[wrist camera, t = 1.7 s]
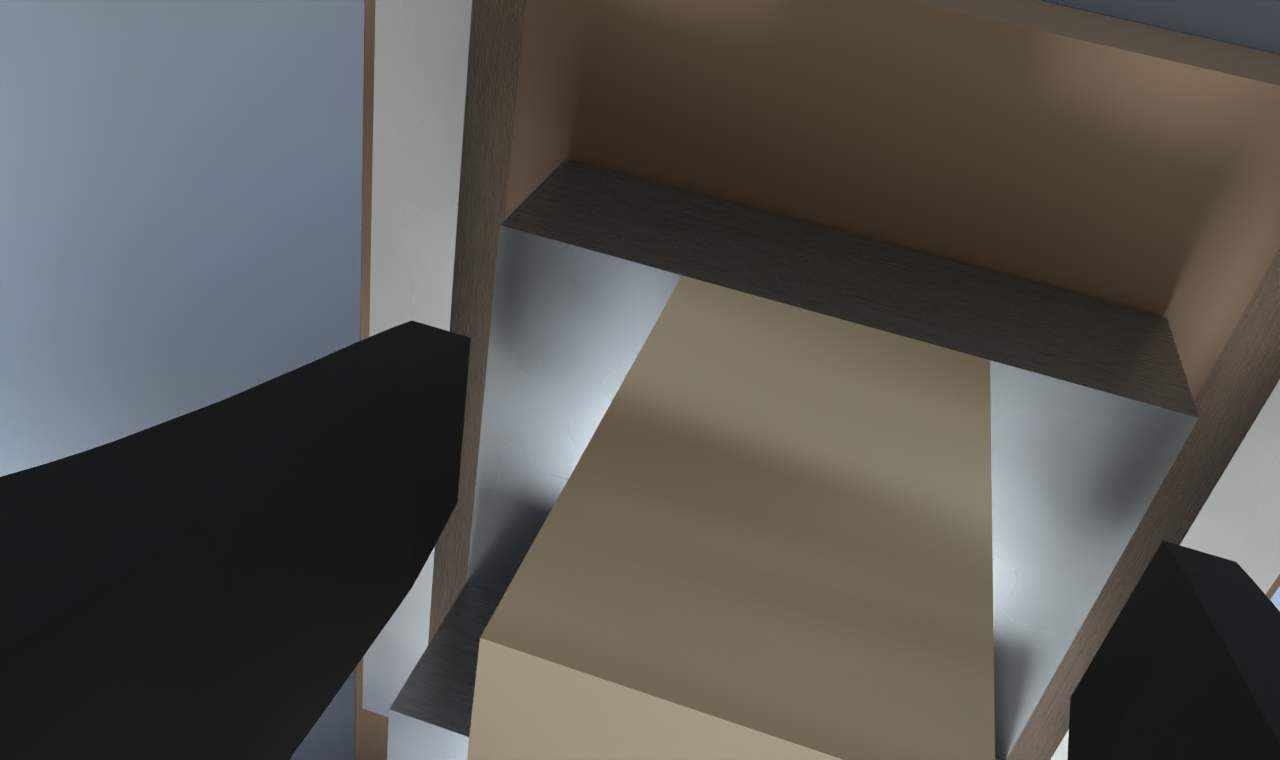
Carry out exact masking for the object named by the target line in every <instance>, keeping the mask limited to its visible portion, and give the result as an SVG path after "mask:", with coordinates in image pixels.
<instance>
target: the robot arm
mask: <svg viewBox="0 0 1280 760" xmlns="http://www.w3.org/2000/svg"><path fill="white" fill-rule="evenodd" d="M470 343H471V338H470V337H467V336H463V335H460V334H457V333H453V332H450V331H446V330H443V329H440V328H436V327H433V326H429V325H426V324H422V323H419V322H416V321H412V320H411V321H409V322H406V323H403V324H400V325H398V326H395V327H392V328H390V329H388V330H385V331H383V332H380V333H378V334H376V335H373V336H371V337H368V338H366V339H364V340H362V341H359V342H357V343H355V344H352V345H350V346H348V347H346V348H343V349H341V350H339V351H336V352H334V353H332V354H330V355H327V356H325V357H323V358H321V359H318V360H316V361H314V362H312V363H309V364H307V365H305V366H302V367H300V368H298V369H295V370H293V371H291V372H288V373H286V374H284V375H281V376H279V377H277V378H274V379H272V380H270V381H267V382H265V383H263V384H260V385H258V386H256V387H253V388H251V389H249V390H246V391H244V392H241V393H239V394H237V395H234V396H232V397H230V398H227V399H225V400H222V401H220V402H217V403H215V404H212V405H209V406H207V407H204V408H201V409H199V410H196V411H193V412H191V413H188V414H185V415H183V416H180V417H177V418H175V419H172V420H170V421H167V422H164V423H162V424H159V425H156V426H154V427H151V428H148V429H146V430H143V431H140V432H138V433H135V434H133V435H130V436H127V437H125V438H122V439H119V440H117V441H114V442H111V443H108V444H105V445H102V446H99V447H96V448H93V449H91V450H88V451H85V452H82V453H78V454H75V455H72V456H69V457H66V458H63V459H60V460H57V461H53V462H50V463H47V464H44V465H40V466H37V467H34V468H30V469H27V470H23V471H20V472H16V473H13V474H9V475H6V476H3V477H0V760H289V759H290V758H291V756H292V755H293V753H294V752H295V751H296V749H297V748H298V747H299V745H300V744H301V742H302V741H303V740H304V738H305V737H306V735H307V734H308V733H309V731H310V730H311V728H312V727H313V726H314V724H315V723H316V722H317V720H318V719H319V717H320V716H321V715H322V713H323V712H324V710H325V709H326V708H327V706H328V705H329V703H330V702H331V701H332V699H333V698H334V697H335V695H336V694H337V692H338V691H339V690H340V688H341V687H342V685H343V684H344V683H345V681H346V680H347V678H348V677H349V676H350V674H351V673H352V672H353V670H354V669H355V667H356V666H357V665H358V663H359V662H360V660H361V659H362V658H363V656H364V655H365V654H366V652H367V651H368V649H369V648H370V647H371V645H372V644H373V642H374V641H375V639H376V638H377V637H378V635H379V634H380V632H381V631H382V630H383V628H384V627H385V625H386V624H387V623H388V621H389V620H390V618H391V617H392V615H393V614H394V613H395V611H396V610H397V608H398V607H399V606H400V604H401V603H402V601H403V600H404V598H405V597H406V595H407V594H408V593H409V591H410V590H411V588H412V587H413V585H414V583H415V581H416V580H417V578H418V576H419V574H420V572H421V570H422V569H423V567H424V565H425V563H426V561H427V560H428V558H429V556H430V554H431V552H432V550H433V549H434V547H435V545H436V543H437V541H438V539H439V537H440V535H441V533H442V531H443V529H444V527H445V525H446V524H447V522H448V520H449V518H450V516H451V514H452V512H453V510H454V508H455V506H456V504H457V501H458V489H459V477H460V464H461V452H462V440H463V428H464V416H465V404H466V391H467V379H468V367H469V355H470ZM1067 760H1280V612H1279V610H1278V609H1277V608H1276V607H1275V606H1274V604H1273V603H1272V602H1271V601H1270V600H1269V598H1268V597H1267V596H1266V595H1265V594H1264V592H1263V591H1262V590H1261V589H1260V588H1259V587H1258V585H1257V584H1256V583H1255V582H1254V581H1253V580H1252V578H1251V577H1250V576H1249V575H1248V574H1247V573H1246V572H1245V571H1244V570H1243V569H1242V567H1241V566H1240V565H1239V564H1238V563H1237V562H1235V561H1231V560H1228V559H1225V558H1221V557H1218V556H1214V555H1211V554H1208V553H1204V552H1201V551H1197V550H1194V549H1191V548H1187V547H1184V546H1180V545H1177V544H1173V543H1170V542H1167V541H1162V543H1161V544H1160V546H1159V548H1158V549H1157V551H1156V553H1155V554H1154V556H1153V558H1152V559H1151V561H1150V563H1149V565H1148V566H1147V568H1146V570H1145V571H1144V573H1143V575H1142V576H1141V578H1140V580H1139V582H1138V583H1137V585H1136V587H1135V588H1134V590H1133V592H1132V593H1131V595H1130V597H1129V599H1128V600H1127V602H1126V604H1125V605H1124V607H1123V609H1122V610H1121V612H1120V614H1119V616H1118V617H1117V619H1116V621H1115V622H1114V624H1113V626H1112V627H1111V629H1110V631H1109V633H1108V634H1107V636H1106V638H1105V639H1104V641H1103V643H1102V644H1101V646H1100V648H1099V650H1098V651H1097V653H1096V655H1095V656H1094V658H1093V660H1092V661H1091V663H1090V665H1089V667H1088V668H1087V670H1086V672H1085V673H1084V675H1083V677H1082V678H1081V680H1080V682H1079V684H1078V685H1077V687H1076V689H1075V690H1074V692H1073V694H1072V695H1071V698H1070V718H1069V737H1068V759H1067Z"/></svg>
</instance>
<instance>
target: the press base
mask: <svg viewBox="0 0 1280 760" xmlns="http://www.w3.org/2000/svg"><path fill="white" fill-rule="evenodd" d="M565 159H567V160H571V161H575V162H579V163H583V164H586V165H590V166H594V167H598V168H602V169H605V170H609V171H613V172H617V173H621V174H624V175H628V176H632V177H636V178H640V179H643V180H647V181H651V182H655V183H658V184H662V185H666V186H670V187H674V188H677V189H681V190H685V191H689V192H693V193H696V194H700V195H704V196H708V197H712V198H715V199H719V200H723V201H727V202H730V203H734V204H738V205H742V206H746V207H749V208H753V209H757V210H761V211H765V212H768V213H772V214H776V215H780V216H784V217H787V218H791V219H795V220H799V221H803V222H806V223H810V224H814V225H818V226H821V227H825V228H829V229H833V230H837V231H840V232H844V233H848V234H852V235H856V236H859V237H863V238H867V239H871V240H875V241H878V242H882V243H886V244H890V245H894V246H897V247H901V248H905V249H909V250H912V251H916V252H920V253H924V254H928V255H931V256H935V257H939V258H943V259H947V260H950V261H954V262H958V263H962V264H966V265H969V266H973V267H977V268H981V269H985V270H988V271H992V272H996V273H1000V274H1003V275H1007V276H1011V277H1015V278H1019V279H1022V280H1026V281H1030V282H1034V283H1038V284H1041V285H1045V286H1049V287H1053V288H1057V289H1060V290H1064V291H1068V292H1072V293H1076V294H1079V295H1083V296H1087V297H1091V298H1094V299H1098V300H1102V301H1106V302H1110V303H1113V304H1117V305H1121V306H1125V307H1129V308H1132V309H1136V310H1140V311H1144V312H1148V313H1151V314H1155V315H1159V316H1163V317H1167V319H1168V322H1169V325H1170V328H1171V331H1172V334H1173V338H1174V341H1175V344H1176V347H1177V350H1178V353H1179V356H1180V359H1181V363H1182V366H1183V369H1184V372H1185V375H1186V378H1187V381H1188V385H1189V388H1190V391H1191V394H1192V397H1193V400H1194V403H1195V407H1196V410H1197V413H1198V416H1199V419H1198V421H1197V422H1196V424H1195V426H1194V428H1193V430H1192V431H1191V433H1190V435H1189V437H1188V438H1187V440H1186V442H1185V444H1184V445H1183V447H1182V449H1181V451H1180V453H1179V454H1178V456H1177V458H1176V460H1175V461H1174V463H1173V465H1172V467H1171V468H1170V470H1169V472H1168V474H1167V476H1166V477H1165V479H1164V481H1163V483H1162V484H1161V486H1160V488H1159V490H1158V491H1157V493H1156V495H1155V497H1154V499H1153V500H1152V502H1151V504H1150V506H1149V507H1148V509H1147V511H1146V513H1145V514H1144V516H1143V518H1142V520H1141V522H1140V523H1139V525H1138V527H1137V529H1136V530H1135V532H1134V534H1133V536H1132V537H1131V539H1130V541H1129V543H1128V545H1127V546H1126V548H1125V550H1124V552H1123V553H1122V555H1121V557H1120V559H1119V560H1118V562H1117V564H1116V566H1115V568H1114V569H1113V571H1112V573H1111V575H1110V576H1109V578H1108V580H1107V582H1106V583H1105V585H1104V587H1103V589H1102V591H1101V592H1100V594H1099V596H1098V598H1097V599H1096V601H1095V603H1094V605H1093V606H1092V608H1091V610H1090V612H1089V614H1088V615H1087V617H1086V619H1085V621H1084V622H1083V624H1082V626H1081V628H1080V629H1079V631H1078V633H1077V635H1076V637H1075V638H1074V640H1073V642H1072V644H1071V645H1070V647H1069V649H1068V651H1067V652H1066V654H1065V656H1064V658H1063V660H1062V661H1061V663H1060V665H1059V667H1058V668H1057V670H1056V672H1055V674H1054V675H1053V677H1052V679H1051V681H1050V683H1049V684H1048V686H1047V688H1046V690H1045V691H1044V693H1043V695H1042V697H1041V698H1040V700H1039V702H1038V704H1037V706H1036V707H1035V709H1034V711H1033V713H1032V714H1031V716H1030V718H1029V720H1028V721H1027V723H1026V725H1025V727H1024V729H1023V730H1022V732H1021V734H1020V736H1019V737H1018V739H1017V741H1016V743H1015V744H1014V746H1013V748H1012V750H1011V752H1010V753H1009V755H1008V757H1007V759H1006V760H1067V759H1068V737H1069V718H1070V698H1071V695H1072V694H1073V692H1074V690H1075V689H1076V687H1077V685H1078V684H1079V682H1080V680H1081V678H1082V677H1083V675H1084V673H1085V672H1086V670H1087V668H1088V667H1089V665H1090V663H1091V661H1092V660H1093V658H1094V656H1095V655H1096V653H1097V651H1098V650H1099V648H1100V646H1101V644H1102V643H1103V641H1104V639H1105V638H1106V636H1107V634H1108V633H1109V631H1110V629H1111V627H1112V626H1113V624H1114V622H1115V621H1116V619H1117V617H1118V616H1119V614H1120V612H1121V610H1122V609H1123V607H1124V605H1125V604H1126V602H1127V600H1128V599H1129V597H1130V595H1131V593H1132V592H1133V590H1134V588H1135V587H1136V585H1137V583H1138V582H1139V580H1140V578H1141V576H1142V575H1143V573H1144V571H1145V570H1146V568H1147V566H1148V565H1149V563H1150V561H1151V559H1152V558H1153V556H1154V554H1155V553H1156V551H1157V549H1158V548H1159V546H1160V544H1161V543H1162V541H1167V542H1170V543H1173V544H1177V545H1180V546H1184V547H1187V548H1191V549H1194V550H1197V551H1201V552H1204V553H1208V554H1211V555H1214V556H1218V557H1221V558H1225V559H1228V560H1231V561H1235V562H1237V563H1238V564H1239V565H1240V566H1241V567H1242V569H1243V570H1244V571H1245V572H1246V573H1247V574H1248V575H1249V576H1250V577H1251V578H1252V580H1253V581H1254V582H1255V583H1256V584H1257V585H1258V587H1259V588H1260V589H1261V590H1262V591H1263V592H1264V594H1265V595H1266V596H1267V597H1268V598H1269V600H1270V599H1271V597H1272V596H1273V595H1274V593H1275V592H1276V590H1277V589H1278V587H1279V586H1280V55H1279V54H1275V53H1270V52H1266V51H1262V50H1257V49H1253V48H1248V47H1244V46H1239V45H1235V44H1231V43H1226V42H1222V41H1217V40H1213V39H1209V38H1204V37H1200V36H1195V35H1191V34H1186V33H1182V32H1178V31H1173V30H1169V29H1164V28H1160V27H1155V26H1151V25H1147V24H1142V23H1138V22H1133V21H1129V20H1125V19H1120V18H1116V17H1111V16H1107V15H1102V14H1098V13H1094V12H1089V11H1085V10H1080V9H1076V8H1071V7H1067V6H1063V5H1058V4H1054V3H1049V2H1045V1H1040V0H365V26H364V102H363V179H362V255H361V332H360V341H362V340H364V339H366V338H368V337H371V336H373V335H376V334H378V333H380V332H383V331H385V330H388V329H390V328H392V327H395V326H398V325H400V324H403V323H406V322H409V321H411V320H412V321H416V322H419V323H422V324H426V325H429V326H433V327H436V328H440V329H443V330H446V331H450V332H453V333H457V334H460V335H463V336H467V337H470V338H471V343H470V355H469V367H468V379H467V391H466V404H465V416H464V428H463V440H462V452H461V464H460V477H459V489H458V501H457V504H456V506H455V508H454V510H453V512H452V514H451V516H450V518H449V520H448V522H447V524H446V525H445V527H444V529H443V531H442V533H441V535H440V537H439V539H438V541H437V543H436V545H435V547H434V549H433V550H432V552H431V554H430V556H429V558H428V560H427V561H426V563H425V565H424V567H423V569H422V570H421V572H420V574H419V576H418V578H417V580H416V581H415V583H414V585H413V587H412V588H411V590H410V591H409V593H408V594H407V595H406V597H405V598H404V600H403V601H402V603H401V604H400V606H399V607H398V608H397V610H396V611H395V613H394V614H393V615H392V617H391V618H390V620H389V621H388V623H387V624H386V625H385V627H384V628H383V630H382V631H381V632H380V634H379V635H378V637H377V638H376V639H375V641H374V642H373V644H372V645H371V647H370V648H369V649H368V651H367V652H366V654H365V655H364V656H363V658H362V659H361V660H360V662H359V663H358V665H357V666H356V714H355V760H387V749H388V724H389V709H390V707H391V705H392V704H393V702H394V700H395V699H396V697H397V695H398V694H399V692H400V691H401V689H402V687H403V686H404V684H405V682H406V681H407V679H408V677H409V676H410V674H411V673H412V671H413V669H414V668H415V666H416V664H417V663H418V661H419V659H420V658H421V656H422V655H423V653H424V651H425V650H426V648H427V646H428V645H429V643H430V641H431V640H432V638H433V636H434V635H435V633H436V632H437V630H438V628H439V627H440V625H441V623H442V622H443V620H444V618H445V617H446V615H447V614H448V612H449V610H450V609H451V607H452V605H453V604H454V602H455V600H456V599H457V597H458V596H459V594H460V592H461V591H462V589H463V587H464V586H465V584H466V582H467V571H468V561H469V550H470V539H471V529H472V518H473V507H474V497H475V486H476V475H477V464H478V454H479V443H480V432H481V422H482V411H483V400H484V390H485V379H486V368H487V358H488V347H489V336H490V326H491V315H492V304H493V294H494V283H495V272H496V262H497V251H498V240H499V229H500V225H501V223H502V222H503V221H504V220H505V219H506V218H507V217H508V216H509V215H510V214H511V213H512V212H513V211H514V210H515V209H516V208H517V207H518V206H519V205H520V204H521V203H522V202H523V201H524V200H525V199H526V198H527V197H528V196H529V195H530V194H531V193H532V192H533V191H534V190H535V189H536V188H537V187H538V186H539V185H540V184H541V183H542V182H543V181H544V180H545V179H546V178H547V177H548V176H549V175H550V174H551V173H552V172H553V171H554V170H555V169H556V168H557V167H558V166H559V165H560V164H561V163H562V162H563V161H564V160H565Z"/></svg>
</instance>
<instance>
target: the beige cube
mask: <svg viewBox="0 0 1280 760" xmlns="http://www.w3.org/2000/svg"><path fill="white" fill-rule="evenodd" d="M1198 419H1199V416H1198V413H1197V410H1196V407H1195V403H1194V400H1193V397H1192V394H1191V391H1190V388H1189V385H1188V381H1187V378H1186V375H1185V372H1184V369H1183V366H1182V363H1181V359H1180V356H1179V353H1178V350H1177V347H1176V344H1175V341H1174V338H1173V334H1172V331H1171V328H1170V325H1169V322H1168V319H1167V317H1163V316H1159V315H1155V314H1151V313H1148V312H1144V311H1140V310H1136V309H1132V308H1129V307H1125V306H1121V305H1117V304H1113V303H1110V302H1106V301H1102V300H1098V299H1094V298H1091V297H1087V296H1083V295H1079V294H1076V293H1072V292H1068V291H1064V290H1060V289H1057V288H1053V287H1049V286H1045V285H1041V284H1038V283H1034V282H1030V281H1026V280H1022V279H1019V278H1015V277H1011V276H1007V275H1003V274H1000V273H996V272H992V271H988V270H985V269H981V268H977V267H973V266H969V265H966V264H962V263H958V262H954V261H950V260H947V259H943V258H939V257H935V256H931V255H928V254H924V253H920V252H916V251H912V250H909V249H905V248H901V247H897V246H894V245H890V244H886V243H882V242H878V241H875V240H871V239H867V238H863V237H859V236H856V235H852V234H848V233H844V232H840V231H837V230H833V229H829V228H825V227H821V226H818V225H814V224H810V223H806V222H803V221H799V220H795V219H791V218H787V217H784V216H780V215H776V214H772V213H768V212H765V211H761V210H757V209H753V208H749V207H746V206H742V205H738V204H734V203H730V202H727V201H723V200H719V199H715V198H712V197H708V196H704V195H700V194H696V193H693V192H689V191H685V190H681V189H677V188H674V187H670V186H666V185H662V184H658V183H655V182H651V181H647V180H643V179H640V178H636V177H632V176H628V175H624V174H621V173H617V172H613V171H609V170H605V169H602V168H598V167H594V166H590V165H586V164H583V163H579V162H575V161H571V160H567V159H565V160H564V161H563V162H562V163H561V164H560V165H559V166H558V167H557V168H556V169H555V170H554V171H553V172H552V173H551V174H550V175H549V176H548V177H547V178H546V179H545V180H544V181H543V182H542V183H541V184H540V185H539V186H538V187H537V188H536V189H535V190H534V191H533V192H532V193H531V194H530V195H529V196H528V197H527V198H526V199H525V200H524V201H523V202H522V203H521V204H520V205H519V206H518V207H517V208H516V209H515V210H514V211H513V212H512V213H511V214H510V215H509V216H508V217H507V218H506V219H505V220H504V221H503V222H502V223H501V225H500V229H499V240H498V251H497V262H496V272H495V283H494V294H493V304H492V315H491V326H490V336H489V347H488V358H487V368H486V379H485V390H484V400H483V411H482V422H481V432H480V443H479V454H478V464H477V475H476V486H475V497H474V507H473V518H472V529H471V539H470V550H469V561H468V571H467V582H466V584H465V586H464V587H463V589H462V591H461V592H460V594H459V596H458V597H457V599H456V600H455V602H454V604H453V605H452V607H451V609H450V610H449V612H448V614H447V615H446V617H445V618H444V620H443V622H442V623H441V625H440V627H439V628H438V630H437V632H436V633H435V635H434V636H433V638H432V640H431V641H430V643H429V645H428V646H427V648H426V650H425V651H424V653H423V655H422V656H421V658H420V659H419V661H418V663H417V664H416V666H415V668H414V669H413V671H412V673H411V674H410V676H409V677H408V679H407V681H406V682H405V684H404V686H403V687H402V689H401V691H400V692H399V694H398V695H397V697H396V699H395V700H394V702H393V704H392V705H391V707H390V709H389V724H388V749H387V760H1006V759H1007V757H1008V755H1009V753H1010V752H1011V750H1012V748H1013V746H1014V744H1015V743H1016V741H1017V739H1018V737H1019V736H1020V734H1021V732H1022V730H1023V729H1024V727H1025V725H1026V723H1027V721H1028V720H1029V718H1030V716H1031V714H1032V713H1033V711H1034V709H1035V707H1036V706H1037V704H1038V702H1039V700H1040V698H1041V697H1042V695H1043V693H1044V691H1045V690H1046V688H1047V686H1048V684H1049V683H1050V681H1051V679H1052V677H1053V675H1054V674H1055V672H1056V670H1057V668H1058V667H1059V665H1060V663H1061V661H1062V660H1063V658H1064V656H1065V654H1066V652H1067V651H1068V649H1069V647H1070V645H1071V644H1072V642H1073V640H1074V638H1075V637H1076V635H1077V633H1078V631H1079V629H1080V628H1081V626H1082V624H1083V622H1084V621H1085V619H1086V617H1087V615H1088V614H1089V612H1090V610H1091V608H1092V606H1093V605H1094V603H1095V601H1096V599H1097V598H1098V596H1099V594H1100V592H1101V591H1102V589H1103V587H1104V585H1105V583H1106V582H1107V580H1108V578H1109V576H1110V575H1111V573H1112V571H1113V569H1114V568H1115V566H1116V564H1117V562H1118V560H1119V559H1120V557H1121V555H1122V553H1123V552H1124V550H1125V548H1126V546H1127V545H1128V543H1129V541H1130V539H1131V537H1132V536H1133V534H1134V532H1135V530H1136V529H1137V527H1138V525H1139V523H1140V522H1141V520H1142V518H1143V516H1144V514H1145V513H1146V511H1147V509H1148V507H1149V506H1150V504H1151V502H1152V500H1153V499H1154V497H1155V495H1156V493H1157V491H1158V490H1159V488H1160V486H1161V484H1162V483H1163V481H1164V479H1165V477H1166V476H1167V474H1168V472H1169V470H1170V468H1171V467H1172V465H1173V463H1174V461H1175V460H1176V458H1177V456H1178V454H1179V453H1180V451H1181V449H1182V447H1183V445H1184V444H1185V442H1186V440H1187V438H1188V437H1189V435H1190V433H1191V431H1192V430H1193V428H1194V426H1195V424H1196V422H1197V421H1198Z"/></svg>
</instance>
